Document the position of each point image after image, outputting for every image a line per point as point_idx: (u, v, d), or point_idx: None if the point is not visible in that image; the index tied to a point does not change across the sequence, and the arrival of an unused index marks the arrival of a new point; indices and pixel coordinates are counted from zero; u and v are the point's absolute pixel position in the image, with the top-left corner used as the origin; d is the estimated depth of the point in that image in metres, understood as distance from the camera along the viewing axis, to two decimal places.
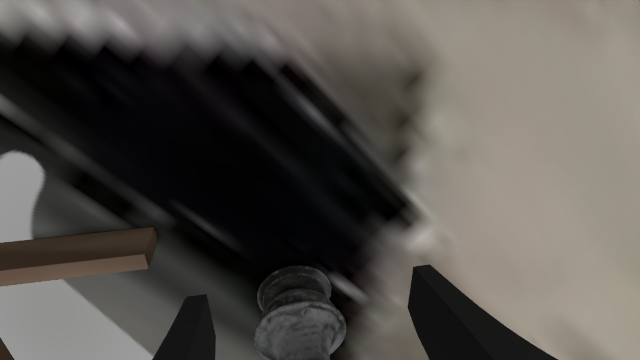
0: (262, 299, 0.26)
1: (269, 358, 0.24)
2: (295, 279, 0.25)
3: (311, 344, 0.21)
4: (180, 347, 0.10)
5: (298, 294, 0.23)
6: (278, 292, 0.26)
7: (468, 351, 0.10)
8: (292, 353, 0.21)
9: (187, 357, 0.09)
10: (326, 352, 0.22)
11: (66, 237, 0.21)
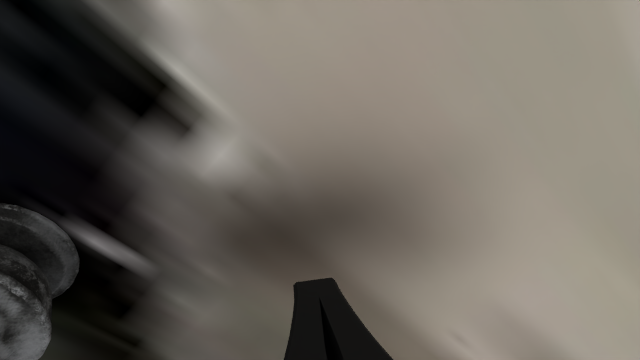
0: None
1: None
2: None
3: None
4: (312, 327, 0.10)
5: None
6: None
7: None
8: None
9: (323, 336, 0.10)
10: None
11: None
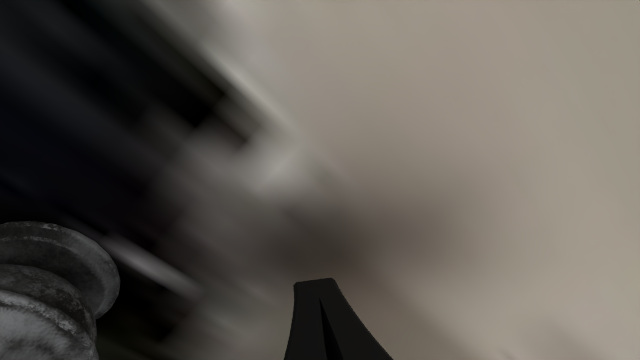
0: None
1: None
2: (20, 248, 0.13)
3: None
4: (312, 327, 0.10)
5: None
6: None
7: None
8: None
9: (323, 336, 0.10)
10: None
11: None
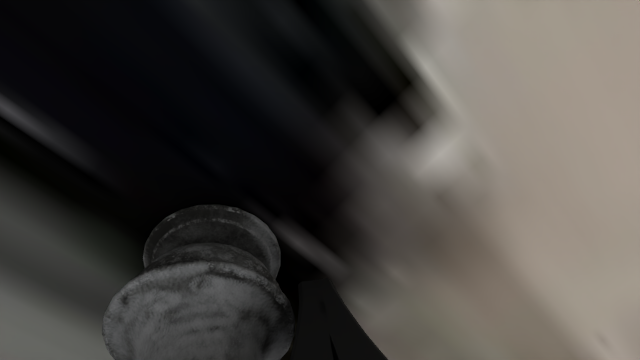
0: None
1: None
2: (208, 230, 0.14)
3: (201, 352, 0.10)
4: (318, 326, 0.10)
5: (194, 250, 0.12)
6: None
7: None
8: None
9: (329, 335, 0.10)
10: None
11: None
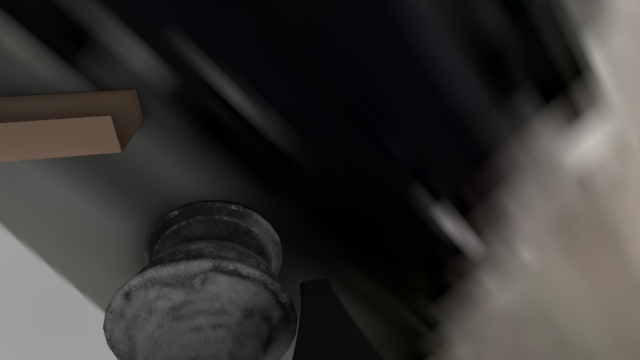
0: None
1: None
2: (210, 227, 0.14)
3: (204, 350, 0.10)
4: (320, 326, 0.10)
5: (198, 247, 0.11)
6: None
7: None
8: None
9: (331, 335, 0.10)
10: None
11: None
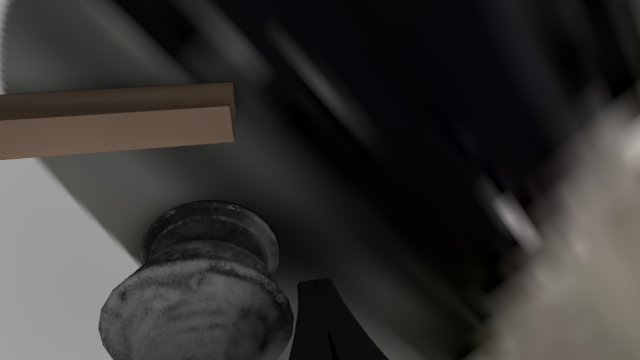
0: None
1: None
2: (207, 227, 0.14)
3: (200, 350, 0.10)
4: (317, 326, 0.10)
5: (194, 246, 0.11)
6: None
7: None
8: None
9: (328, 335, 0.10)
10: None
11: (68, 92, 0.11)
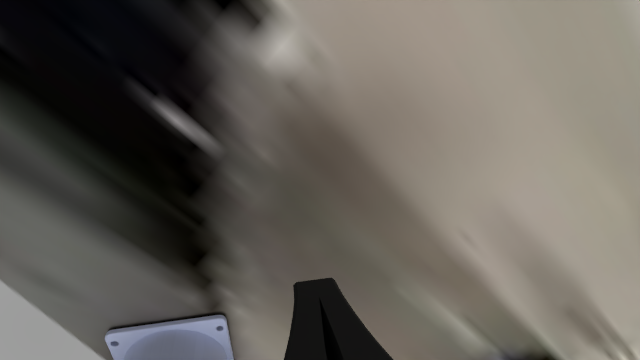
0: None
1: None
2: None
3: None
4: (312, 327, 0.10)
5: None
6: None
7: None
8: None
9: (323, 336, 0.10)
10: None
11: None
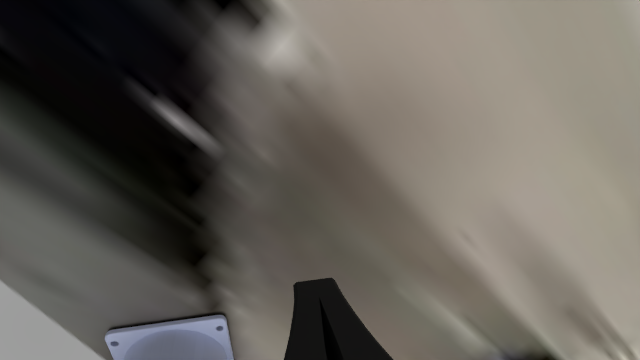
0: None
1: None
2: None
3: None
4: (312, 327, 0.10)
5: None
6: None
7: None
8: None
9: (323, 336, 0.10)
10: None
11: None
